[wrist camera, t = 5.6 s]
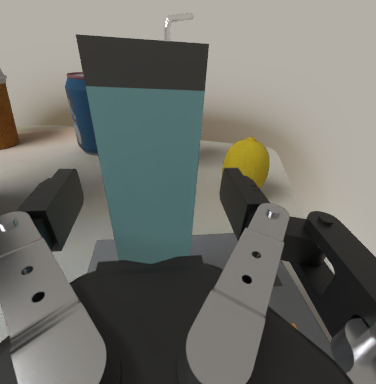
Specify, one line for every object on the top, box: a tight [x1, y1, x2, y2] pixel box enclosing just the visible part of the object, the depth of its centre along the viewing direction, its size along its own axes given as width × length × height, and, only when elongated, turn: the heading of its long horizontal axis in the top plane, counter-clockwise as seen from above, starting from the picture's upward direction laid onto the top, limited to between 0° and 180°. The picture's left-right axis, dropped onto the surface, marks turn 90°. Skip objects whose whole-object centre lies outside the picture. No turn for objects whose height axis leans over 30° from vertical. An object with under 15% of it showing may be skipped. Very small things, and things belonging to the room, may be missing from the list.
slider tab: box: [76, 35, 209, 264], centre depth 11 cm, size 4×4×14 cm
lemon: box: [222, 137, 269, 188], centre depth 27 cm, size 6×6×8 cm
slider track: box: [87, 233, 335, 360], centre depth 16 cm, size 15×10×2 cm, turn 97°
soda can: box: [65, 72, 98, 155], centre depth 36 cm, size 7×7×12 cm
